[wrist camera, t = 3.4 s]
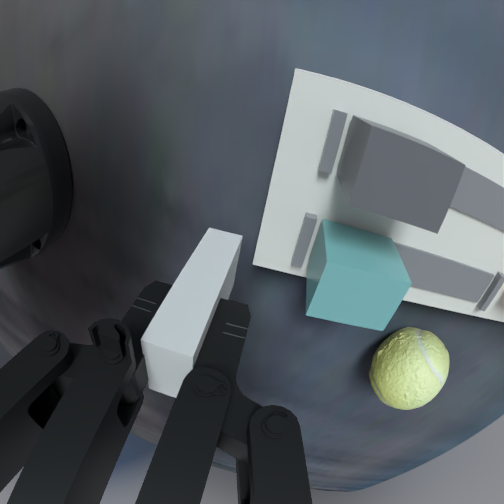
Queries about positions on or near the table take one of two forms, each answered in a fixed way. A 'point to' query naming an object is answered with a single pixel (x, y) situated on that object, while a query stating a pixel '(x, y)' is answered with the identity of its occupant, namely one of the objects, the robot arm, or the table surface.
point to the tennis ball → (409, 368)
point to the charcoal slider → (397, 175)
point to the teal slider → (354, 277)
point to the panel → (403, 235)
